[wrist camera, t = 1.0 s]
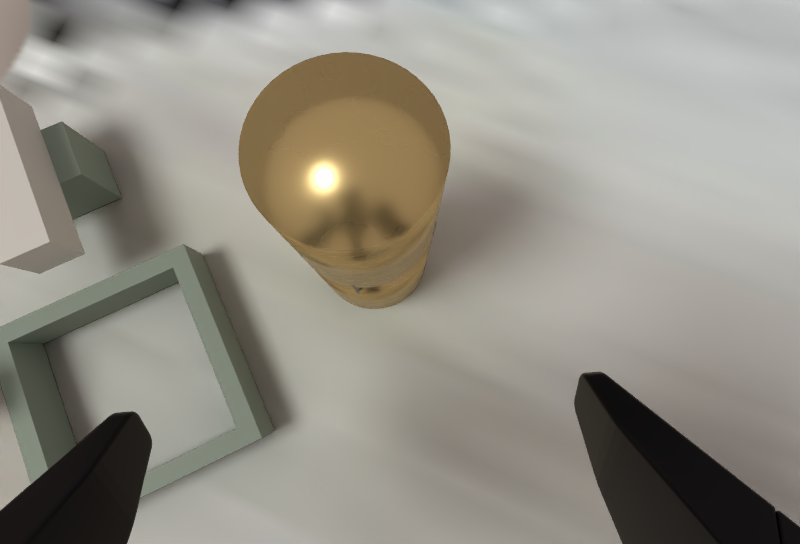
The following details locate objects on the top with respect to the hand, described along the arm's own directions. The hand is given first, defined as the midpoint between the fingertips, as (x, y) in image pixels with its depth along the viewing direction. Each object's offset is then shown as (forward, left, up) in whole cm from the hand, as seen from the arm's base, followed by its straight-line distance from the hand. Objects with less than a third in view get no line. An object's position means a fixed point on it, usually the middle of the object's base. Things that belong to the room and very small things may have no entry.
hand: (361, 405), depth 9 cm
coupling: (+5, -3, -12) cm, 14 cm away
